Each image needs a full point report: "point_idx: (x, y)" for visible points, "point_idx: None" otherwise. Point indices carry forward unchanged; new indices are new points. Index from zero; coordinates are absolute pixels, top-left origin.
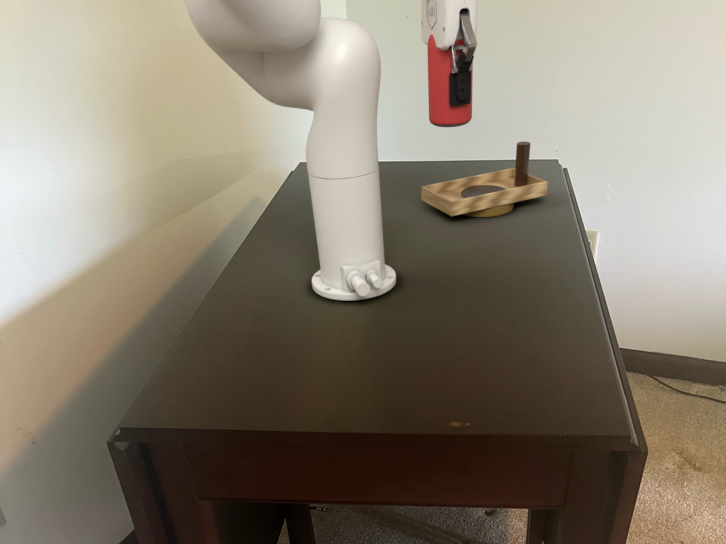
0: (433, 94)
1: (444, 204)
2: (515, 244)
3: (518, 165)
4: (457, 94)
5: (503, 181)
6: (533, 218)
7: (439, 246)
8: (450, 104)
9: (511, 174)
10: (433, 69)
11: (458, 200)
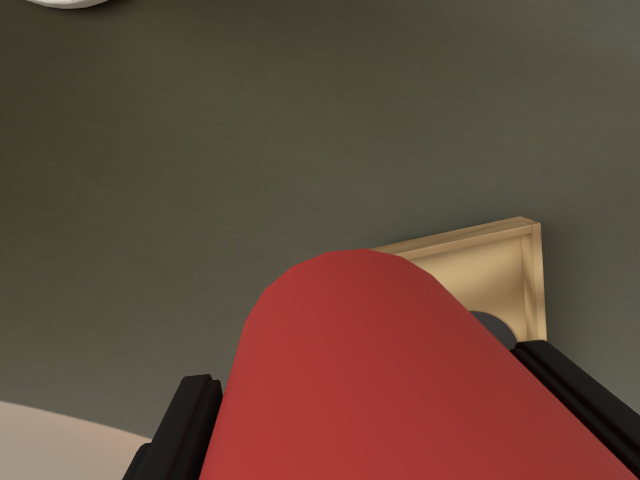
0: (317, 317)
1: (403, 247)
2: (202, 334)
3: None
4: (135, 458)
5: None
6: None
7: (245, 179)
8: (192, 376)
9: None
10: (321, 454)
11: None
